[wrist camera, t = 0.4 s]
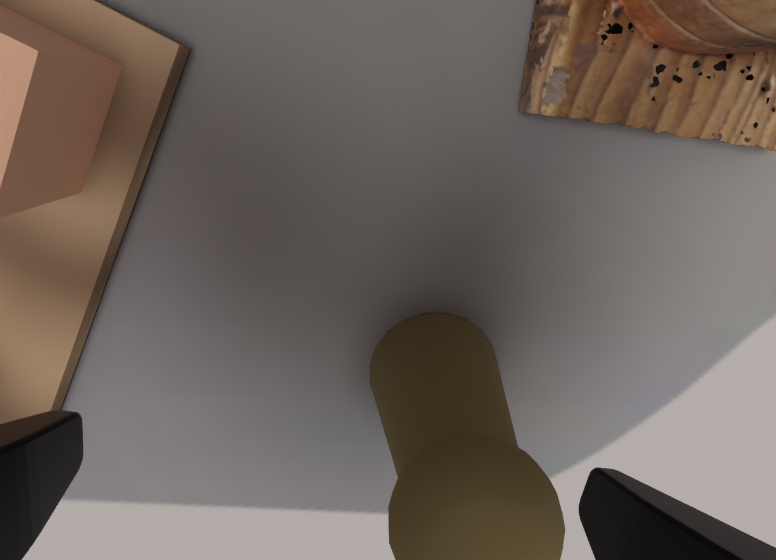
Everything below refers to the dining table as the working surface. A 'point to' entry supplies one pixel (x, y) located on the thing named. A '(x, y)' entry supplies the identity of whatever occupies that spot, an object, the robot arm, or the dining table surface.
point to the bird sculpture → (638, 65)
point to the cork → (457, 450)
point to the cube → (48, 112)
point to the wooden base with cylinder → (79, 209)
